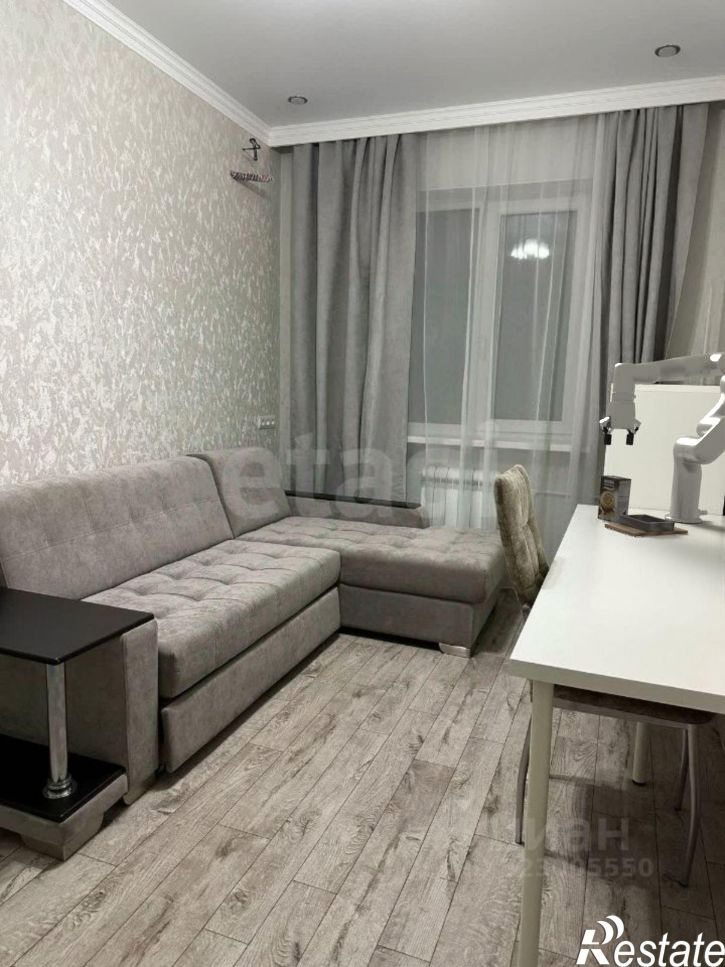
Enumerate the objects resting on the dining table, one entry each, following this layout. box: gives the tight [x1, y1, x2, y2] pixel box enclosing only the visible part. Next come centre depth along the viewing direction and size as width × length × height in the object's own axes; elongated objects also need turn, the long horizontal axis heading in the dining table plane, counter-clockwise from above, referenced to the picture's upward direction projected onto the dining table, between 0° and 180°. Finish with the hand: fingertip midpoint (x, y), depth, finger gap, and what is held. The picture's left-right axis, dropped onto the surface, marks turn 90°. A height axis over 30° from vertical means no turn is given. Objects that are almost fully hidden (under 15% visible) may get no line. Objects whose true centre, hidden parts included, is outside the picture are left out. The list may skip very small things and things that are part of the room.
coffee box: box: [597, 475, 632, 523], centre depth 242 cm, size 9×6×16 cm
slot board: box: [604, 513, 689, 538], centre depth 225 cm, size 22×15×4 cm
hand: (618, 445), depth 239 cm, fingers open, 9 cm apart
